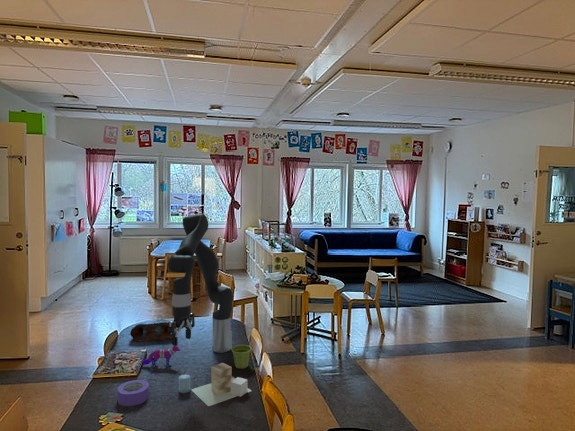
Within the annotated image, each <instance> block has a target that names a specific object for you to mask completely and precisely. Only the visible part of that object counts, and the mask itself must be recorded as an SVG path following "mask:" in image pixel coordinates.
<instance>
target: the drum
mask: <svg viewBox="0 0 575 431" xmlns="http://www.w3.org/2000/svg"><path fill="white" fill-rule="evenodd" d="M191 380H192V379H191V375H189V374H181V375H180V376H179V377H178V393H180V394H188V393H189V392H191V391H192V390H191V389H192V388H191Z"/></svg>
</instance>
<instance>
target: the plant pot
mask: <svg viewBox="0 0 575 431" xmlns="http://www.w3.org/2000/svg"><path fill="white" fill-rule="evenodd" d="M230 351H231V352H232V355H233V360H234V367H235V368H237V369H246V368H247V367H249V360H250V354H251V351H252V347H251V346H250V345H246V344H238V345H234V346H232V349H230Z"/></svg>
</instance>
